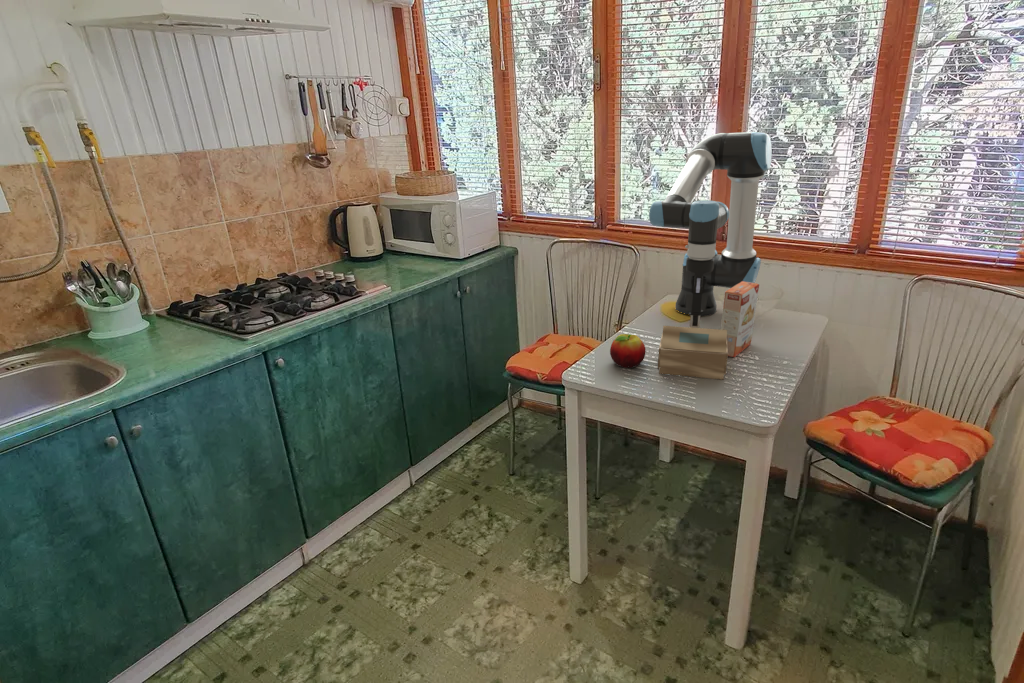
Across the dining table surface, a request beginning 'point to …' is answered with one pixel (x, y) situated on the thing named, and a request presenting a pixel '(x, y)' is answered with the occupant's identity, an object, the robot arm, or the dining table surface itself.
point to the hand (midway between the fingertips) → (693, 334)
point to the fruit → (627, 350)
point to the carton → (692, 363)
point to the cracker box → (739, 316)
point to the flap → (694, 339)
